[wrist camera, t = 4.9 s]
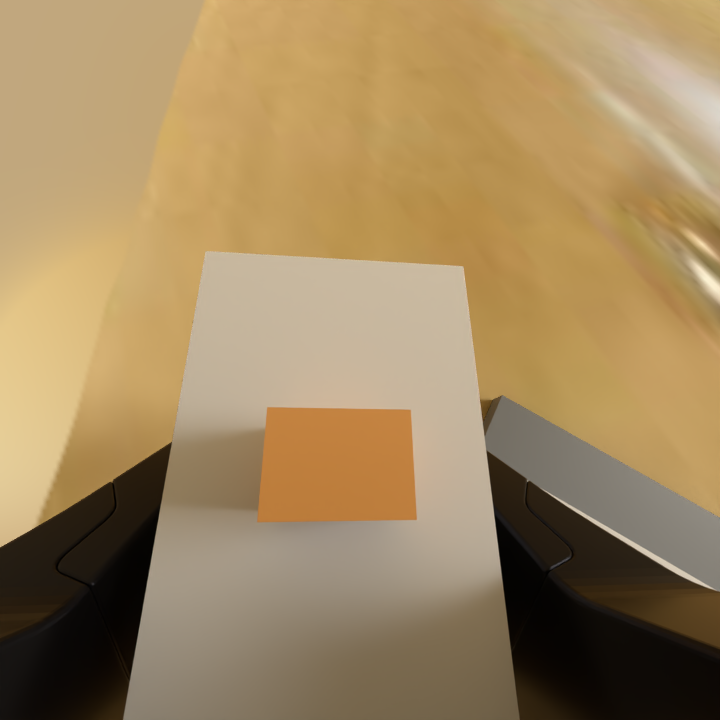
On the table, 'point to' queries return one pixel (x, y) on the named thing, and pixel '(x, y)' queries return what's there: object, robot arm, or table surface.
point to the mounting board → (607, 492)
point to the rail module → (326, 505)
